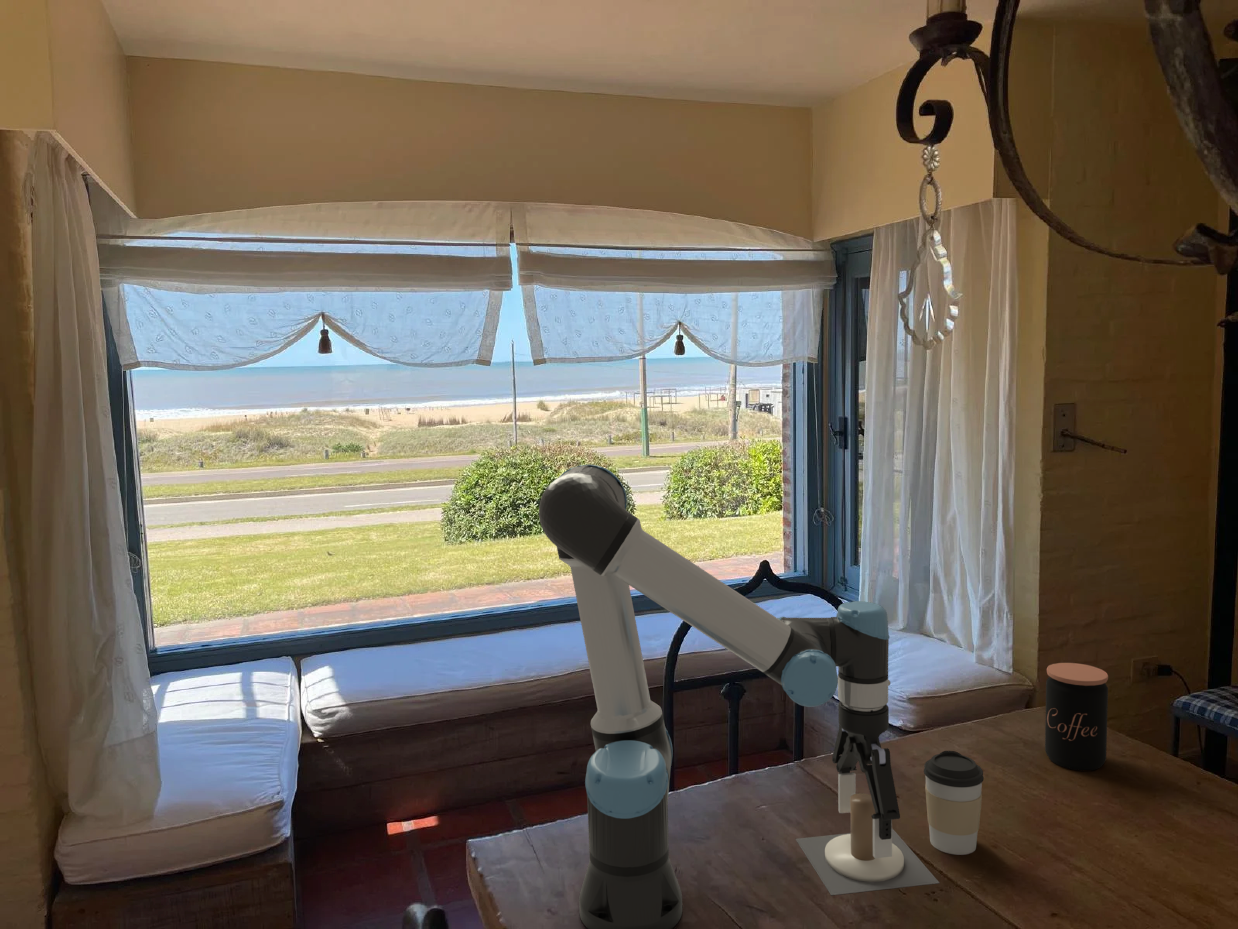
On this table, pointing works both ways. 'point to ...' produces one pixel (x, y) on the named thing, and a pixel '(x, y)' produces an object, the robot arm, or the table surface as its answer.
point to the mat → (839, 884)
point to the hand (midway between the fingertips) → (863, 833)
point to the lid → (862, 847)
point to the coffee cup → (953, 801)
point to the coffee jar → (1076, 716)
